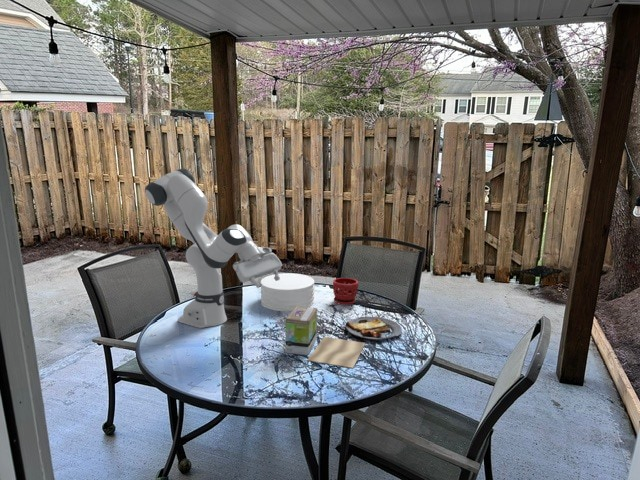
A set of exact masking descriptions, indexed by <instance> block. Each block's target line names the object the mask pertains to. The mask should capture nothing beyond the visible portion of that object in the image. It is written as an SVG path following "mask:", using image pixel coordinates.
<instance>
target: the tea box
mask: <svg viewBox="0 0 640 480" xmlns="http://www.w3.org/2000/svg"><path fill="white" fill-rule="evenodd" d="M317 324H318V308H316V307H311V306H310V307H300V306H295V307H294V309H293V310H292V311H290V313H289V314H288V315H287V317H285V339H284V341H285V349H284V351H285V352H284V353H287V354H292V355H295V354H296V355H303V356H309V354H310V352H311V351H312V348H313V347H314V345H315V343H316V341H317V335H318V334H317V333H318V332H317V330H318V329H317V327H318V326H317Z"/></svg>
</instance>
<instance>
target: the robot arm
mask: <svg viewBox="0 0 640 480" xmlns="http://www.w3.org/2000/svg"><path fill="white" fill-rule="evenodd" d="M193 175H194V174H192V172H191V171H190V170H189V169H188V168H178V169H176V170H175V171H171V172H169V173H166V174H164V175H163V176H161V177H158V178H157V179H155V180H154V181H151V182H149V183H148V184H147V185H146V186H144V187H145V188H144V194H145V197H146V199H147V200H148V201H149V203H151V205H153V206H155V207H159V206H163V208H164V210H165V213H166V214H167V217H168V218H169V220H170V221H171V222H172V224H173V226H174V227H175V229H176V230H177V231H178V232H179V234H180V235H181V236H182V237H183V238H184V239H185V240H188V241H190V242H192V243H193V244H192V245H191V246H189V247H188V248H187V250H186V251H185V261H186V262H187V264H188V265H190V266H191V267H192V268H193V270H194V272H195V276H196V281H197V282H196V283H197V284H196V285H197V291H196V292H195V293H193V294H192V295H193V296H192V297H193V298H194V299H193V300H191V301H190V303H188V304H186V305H185V307H184V308H183V312H182V315H180V316H179V318H178V319H177V320H178V323H182V324H185V325H189V326H192V327H196V328H198V329H203V328H208V327H209V328H210V327H215V326H219V325H223V324H224V323H226V322H227V320H228V318H227V313H226V311H225V306H224V305H225V304H224V301H225V298H224V297H225V295H224V290H223V276H222V273H220V271H218V269H223V268H224V267H225V266H226V265H227V264H228V262H229V260H230V259H231V258H232V257H233V255H235V253H237V255H238V258H239V259H240V260H239V261H235V262H233V264H232V268H233V270H234V272H235V273H236V275H237V277H238V280H239V281H240V282H241V283H247V282H250V284H253V285H255V287H256V288H258V289H259V288H261V286H262V284H261V281H257V280H256V279H258V278H261V277H264V276H267V275H269V274H270V275H271V274H272V275H275V277H274V279H275V281H278V280H279V279H280V277H279V276H278V274H279V271H280V270H281V269H282V266H283V264H282V261H281V260H280V259H279V257H278V256H277V254H275V253H274V252H272V251H273V250H272V248H271V247H263V246H262V247H260V246H257V244H256V243H255V242H254V241H253V238H252V237H251V235H250V233H249V232H248V231H247V229H246V228H244V227H243V226H242V225H240V224H237V223H236V224H231V225H230V226H228V227H227V228H225V229H223V230H221V232H220V233H219V234H217V233H216V232H214V231H213V230H212V229H211V228H210V227H209V226H207V224H205V223H204V220H205V216H206V213H207V209H208V198H207V197H206V195H205V193H204V192H203V191H202V189H200V188H199V187H198V185H197V184H196V180H195V177H194V176H193Z"/></svg>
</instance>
